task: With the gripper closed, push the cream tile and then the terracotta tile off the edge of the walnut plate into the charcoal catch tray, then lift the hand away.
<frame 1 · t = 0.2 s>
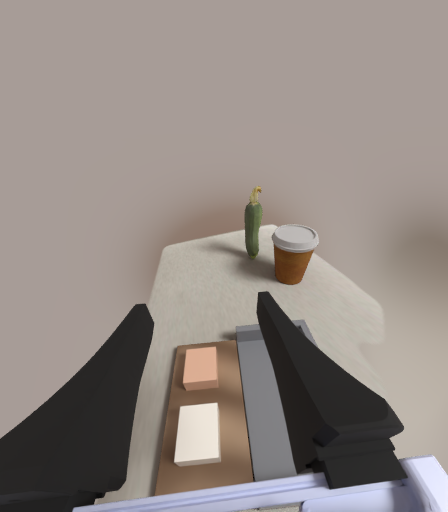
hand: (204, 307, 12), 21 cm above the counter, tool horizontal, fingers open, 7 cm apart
cream tile: (201, 435, 22), point 1 cm above the counter, touching walnut plate
disposable coffee cup: (288, 276, 45), on the counter
walnut plate: (206, 402, 25), on the counter
vegetable: (252, 256, 54), on the counter
catch tray: (282, 394, 25), on the counter
terracotta tile: (203, 371, 27), point 1 cm above the counter, touching walnut plate
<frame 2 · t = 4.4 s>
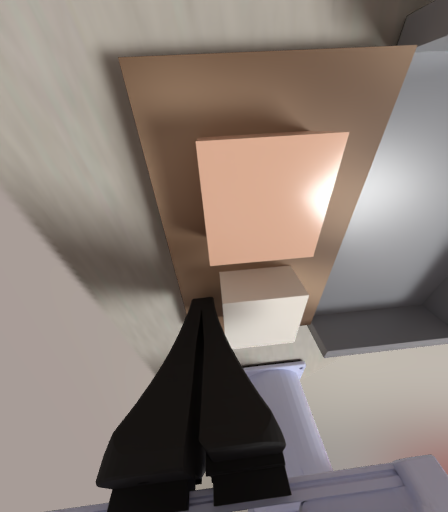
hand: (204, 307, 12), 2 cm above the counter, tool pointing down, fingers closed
cream tile: (253, 293, 13), point 1 cm above the counter, touching gripper, walnut plate
walnut plate: (253, 241, 12), on the counter
catch tray: (410, 228, 12), on the counter
terracotta tile: (252, 191, 9), point 1 cm above the counter, touching walnut plate
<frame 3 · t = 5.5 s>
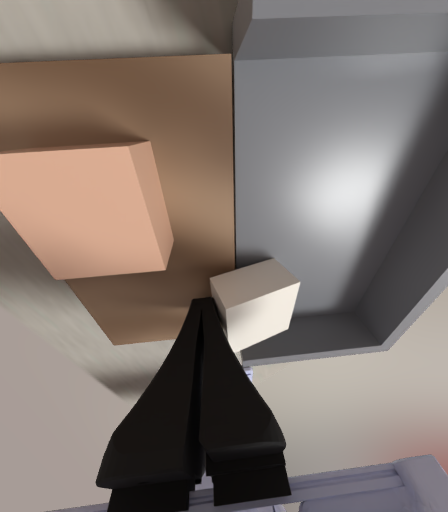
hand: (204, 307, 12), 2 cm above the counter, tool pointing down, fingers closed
cream tile: (243, 292, 13), point 1 cm above the counter, tilted 17°, touching catch tray, gripper
walnut plate: (152, 250, 11), on the counter
catch tray: (316, 236, 12), on the counter
terracotta tile: (114, 202, 8), point 1 cm above the counter, touching walnut plate
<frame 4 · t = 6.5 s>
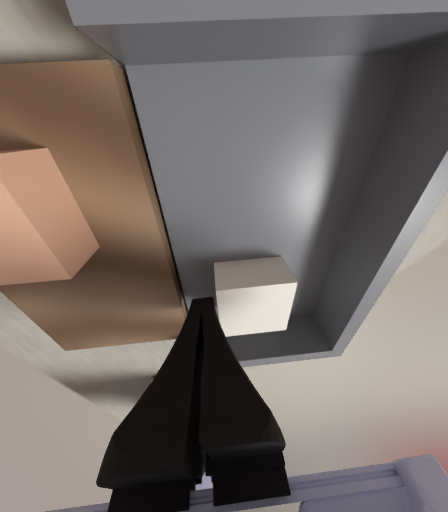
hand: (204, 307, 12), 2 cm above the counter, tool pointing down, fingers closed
cream tile: (247, 284, 13), resting on catch tray, touching gripper
walnut plate: (89, 256, 11), on the counter
catch tray: (257, 241, 12), on the counter
terracotta tile: (26, 209, 8), point 1 cm above the counter, touching walnut plate
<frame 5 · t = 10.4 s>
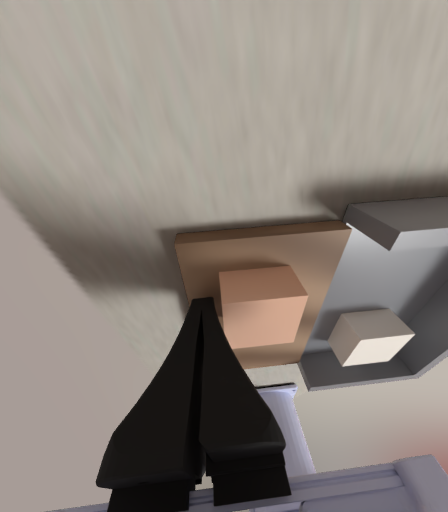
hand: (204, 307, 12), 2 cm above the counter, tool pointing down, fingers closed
cream tile: (356, 325, 18), resting on catch tray
walnut plate: (253, 311, 16), on the counter
catch tray: (370, 299, 16), on the counter
terracotta tile: (253, 293, 13), point 1 cm above the counter, touching gripper
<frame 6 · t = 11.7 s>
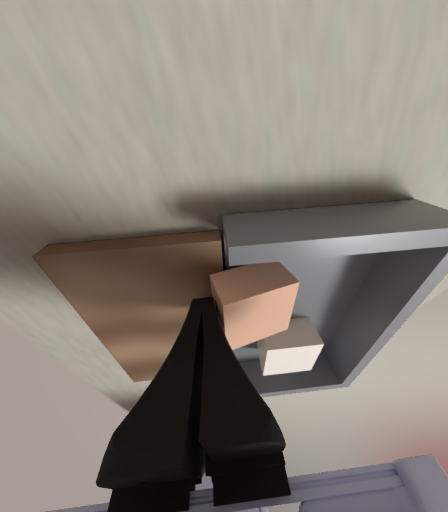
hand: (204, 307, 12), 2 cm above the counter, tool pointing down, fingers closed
cream tile: (281, 333, 17), resting on catch tray
walnut plate: (166, 319, 15), on the counter
catch tray: (288, 307, 16), on the counter
terracotta tile: (243, 290, 13), point 1 cm above the counter, tilted 14°, touching catch tray, gripper
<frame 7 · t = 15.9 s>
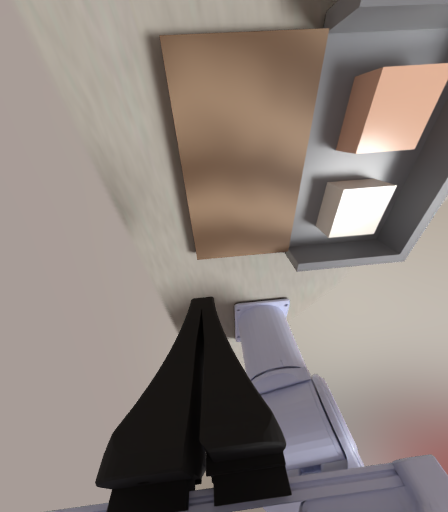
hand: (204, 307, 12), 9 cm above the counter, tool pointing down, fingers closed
cream tile: (342, 204, 18), resting on catch tray
walnut plate: (241, 174, 16), on the counter
catch tray: (355, 166, 17), on the counter
terracotta tile: (372, 115, 14), resting on catch tray
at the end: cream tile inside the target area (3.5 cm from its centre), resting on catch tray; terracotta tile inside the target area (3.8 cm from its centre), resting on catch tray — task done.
